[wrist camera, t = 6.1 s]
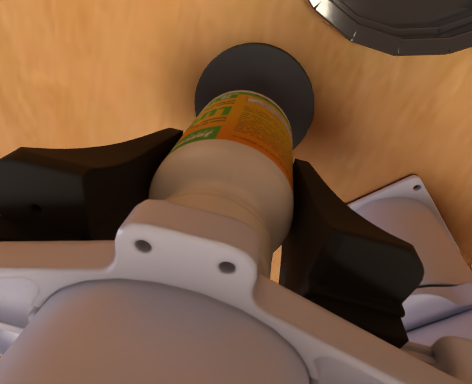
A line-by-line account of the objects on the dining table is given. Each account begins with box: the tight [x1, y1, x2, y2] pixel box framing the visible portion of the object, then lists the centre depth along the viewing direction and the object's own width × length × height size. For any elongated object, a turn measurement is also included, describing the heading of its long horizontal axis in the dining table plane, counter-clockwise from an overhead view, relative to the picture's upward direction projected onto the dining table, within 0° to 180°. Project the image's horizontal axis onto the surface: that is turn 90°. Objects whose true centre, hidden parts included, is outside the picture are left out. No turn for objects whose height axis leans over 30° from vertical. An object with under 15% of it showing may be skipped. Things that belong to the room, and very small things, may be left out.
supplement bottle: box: [149, 90, 294, 279], centre depth 12 cm, size 5×5×10 cm
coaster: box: [195, 43, 314, 150], centre depth 20 cm, size 8×8×1 cm
